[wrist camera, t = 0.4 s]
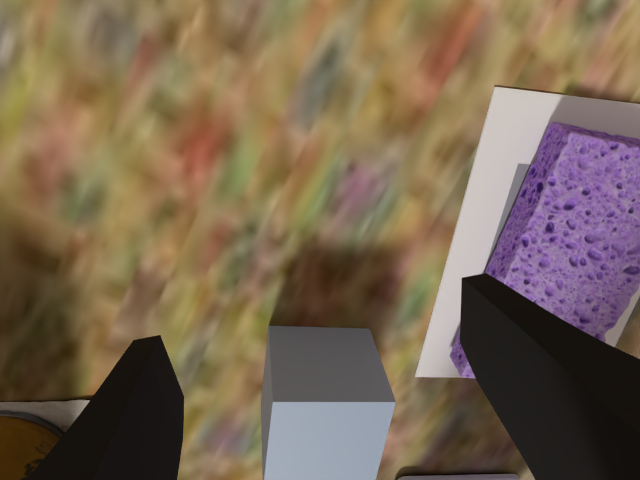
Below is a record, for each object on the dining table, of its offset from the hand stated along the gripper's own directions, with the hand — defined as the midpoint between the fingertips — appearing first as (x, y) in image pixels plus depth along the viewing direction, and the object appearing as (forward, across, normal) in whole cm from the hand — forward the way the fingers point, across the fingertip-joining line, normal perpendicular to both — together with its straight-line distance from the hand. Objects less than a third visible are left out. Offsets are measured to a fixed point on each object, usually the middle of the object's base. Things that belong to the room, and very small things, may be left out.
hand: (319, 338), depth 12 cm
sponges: (+10, -12, +6) cm, 17 cm away
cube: (+9, 0, +10) cm, 14 cm away
